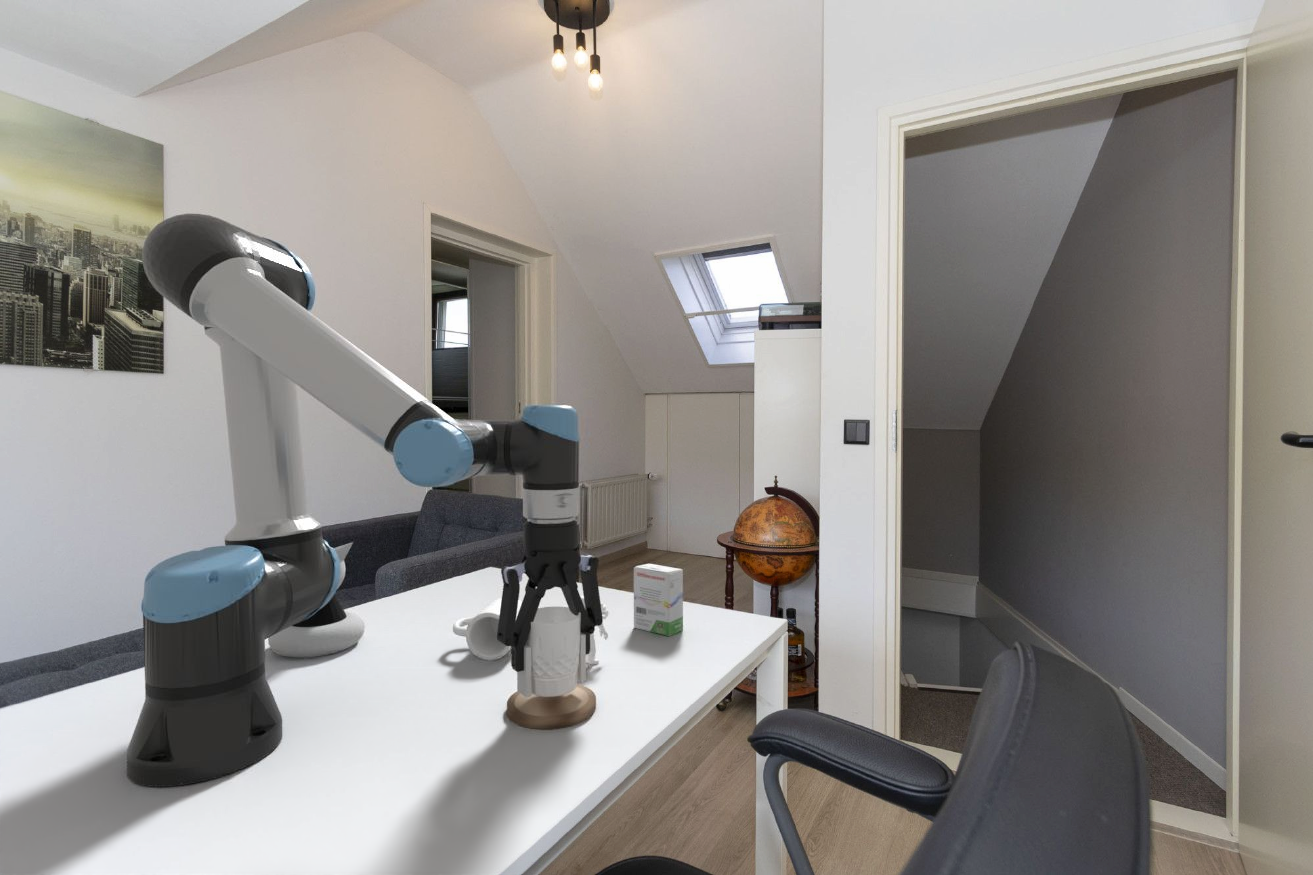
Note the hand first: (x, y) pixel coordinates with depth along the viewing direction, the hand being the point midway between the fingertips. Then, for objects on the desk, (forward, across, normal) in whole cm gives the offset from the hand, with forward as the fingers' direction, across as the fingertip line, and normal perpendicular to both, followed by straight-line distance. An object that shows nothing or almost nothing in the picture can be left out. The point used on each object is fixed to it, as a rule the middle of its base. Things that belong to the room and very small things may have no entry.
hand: (552, 685), depth 88 cm
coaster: (+3, 0, 0) cm, 3 cm away
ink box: (+3, +32, +18) cm, 37 cm away
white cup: (0, 0, 0) cm, 0 cm away
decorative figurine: (+3, -21, +46) cm, 51 cm away
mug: (+3, +2, +27) cm, 27 cm away
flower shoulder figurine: (+3, +12, +11) cm, 17 cm away
